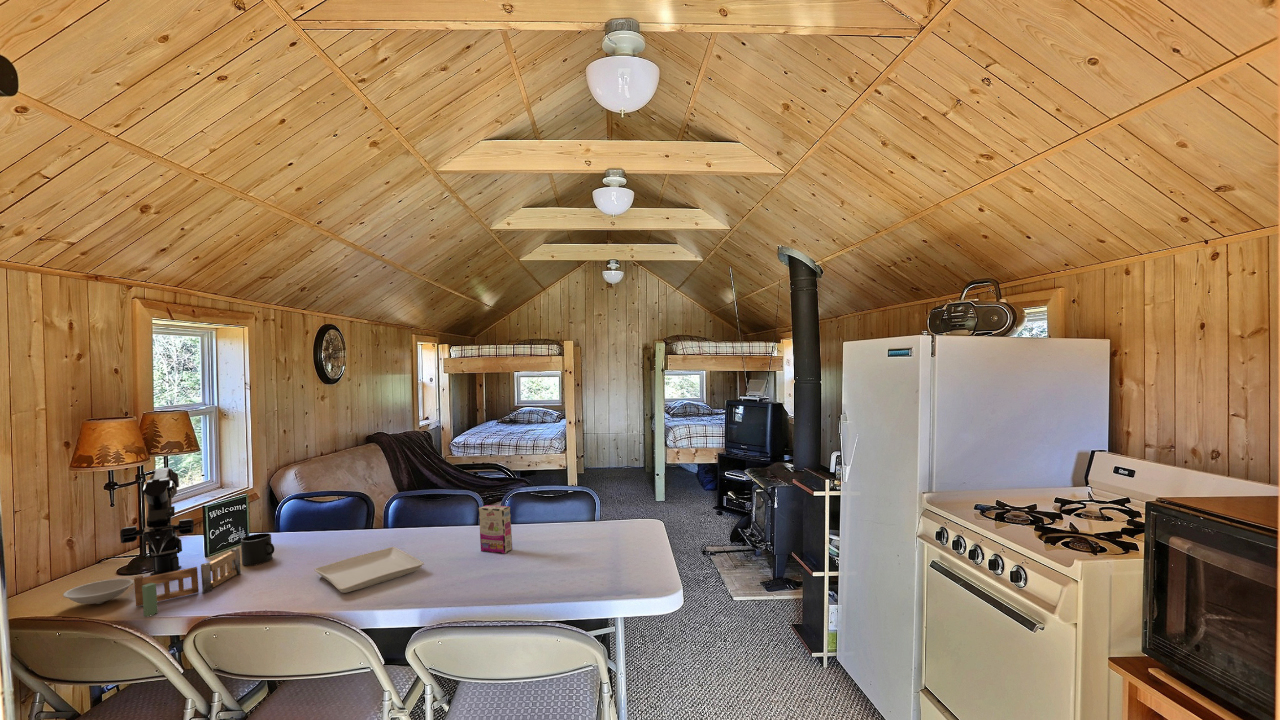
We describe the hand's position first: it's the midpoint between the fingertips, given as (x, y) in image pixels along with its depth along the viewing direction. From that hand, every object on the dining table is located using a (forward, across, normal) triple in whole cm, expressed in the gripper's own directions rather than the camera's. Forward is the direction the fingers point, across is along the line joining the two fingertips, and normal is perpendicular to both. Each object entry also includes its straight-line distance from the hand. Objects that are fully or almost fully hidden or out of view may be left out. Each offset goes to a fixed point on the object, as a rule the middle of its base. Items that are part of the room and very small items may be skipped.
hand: (157, 553), depth 189 cm
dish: (+8, -14, +12) cm, 20 cm away
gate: (+15, +3, +1) cm, 16 cm away
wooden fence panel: (+12, +17, +5) cm, 21 cm away
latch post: (+23, -1, -6) cm, 23 cm away
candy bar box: (+36, +98, -27) cm, 108 cm away
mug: (+2, +29, +16) cm, 33 cm away
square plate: (+31, +56, -18) cm, 67 cm away
